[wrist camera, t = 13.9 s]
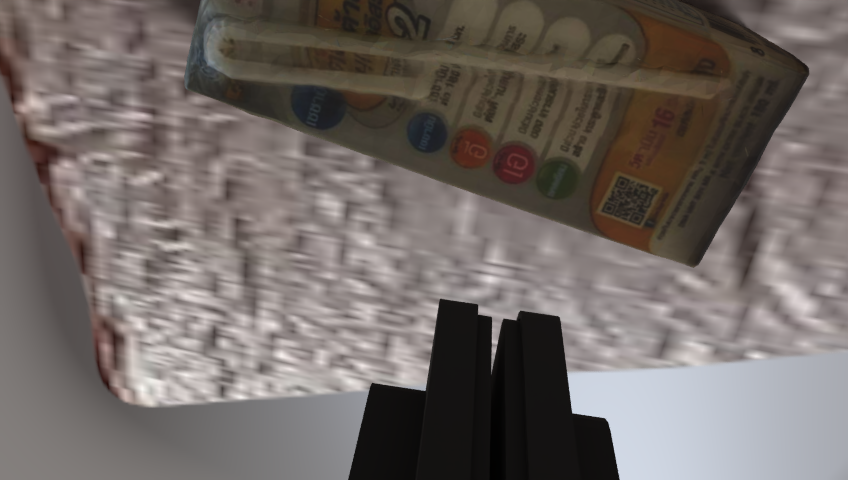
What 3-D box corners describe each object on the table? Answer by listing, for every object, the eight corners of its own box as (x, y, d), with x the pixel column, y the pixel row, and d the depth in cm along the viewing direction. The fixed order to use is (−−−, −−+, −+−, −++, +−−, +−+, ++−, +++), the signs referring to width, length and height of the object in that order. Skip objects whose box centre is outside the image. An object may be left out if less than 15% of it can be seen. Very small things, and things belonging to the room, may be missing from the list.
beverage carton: (274, -159, 27) (214, -158, 21) (768, 25, 29) (838, 73, 23) (229, 53, 31) (167, 103, 25) (669, 206, 32) (707, 288, 27)
